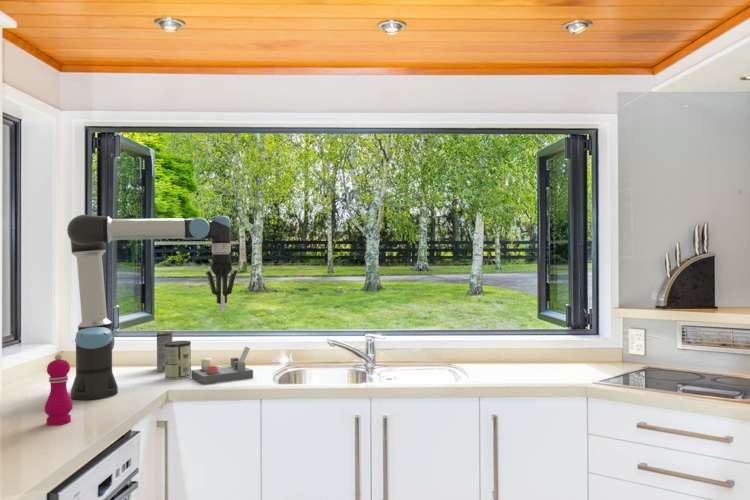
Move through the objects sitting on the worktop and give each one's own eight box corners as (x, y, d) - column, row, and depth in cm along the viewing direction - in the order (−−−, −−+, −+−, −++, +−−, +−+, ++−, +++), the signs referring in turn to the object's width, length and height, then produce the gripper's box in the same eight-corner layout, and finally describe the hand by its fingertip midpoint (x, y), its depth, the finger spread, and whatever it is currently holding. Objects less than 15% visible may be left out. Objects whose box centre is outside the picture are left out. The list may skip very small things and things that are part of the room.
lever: (237, 367, 231) (246, 346, 234) (234, 366, 234) (244, 346, 236) (241, 369, 232) (251, 348, 235) (239, 368, 235) (248, 347, 237)
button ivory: (203, 372, 230) (203, 360, 231) (200, 371, 234) (200, 358, 234) (213, 371, 233) (212, 359, 233) (209, 370, 236) (209, 357, 236)
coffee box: (157, 368, 257) (157, 331, 257) (173, 367, 258) (172, 331, 259) (156, 371, 248) (156, 334, 248) (172, 370, 250) (172, 333, 250)
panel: (203, 384, 220) (203, 368, 221) (191, 377, 234) (191, 362, 234) (253, 377, 232) (252, 362, 232) (238, 371, 245) (238, 357, 245)
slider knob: (233, 366, 238) (233, 359, 238) (230, 365, 241) (230, 358, 241) (238, 365, 240) (238, 358, 240) (236, 364, 242) (236, 357, 242)
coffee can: (171, 374, 241) (171, 340, 242) (195, 374, 240) (194, 340, 241) (159, 379, 231) (159, 344, 231) (184, 379, 230) (184, 344, 230)
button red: (209, 379, 224) (209, 367, 224) (206, 378, 227) (206, 365, 227) (219, 378, 226) (219, 365, 226) (216, 377, 229) (216, 364, 229)
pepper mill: (77, 418, 173) (76, 352, 174) (65, 425, 166) (64, 356, 167) (52, 419, 173) (52, 352, 174) (39, 426, 166) (39, 356, 166)
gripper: (208, 253, 229) (209, 313, 229) (239, 253, 236) (240, 311, 236) (202, 254, 235) (203, 312, 235) (233, 254, 243) (234, 310, 242)
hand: (222, 311), depth 235 cm, fingers closed
